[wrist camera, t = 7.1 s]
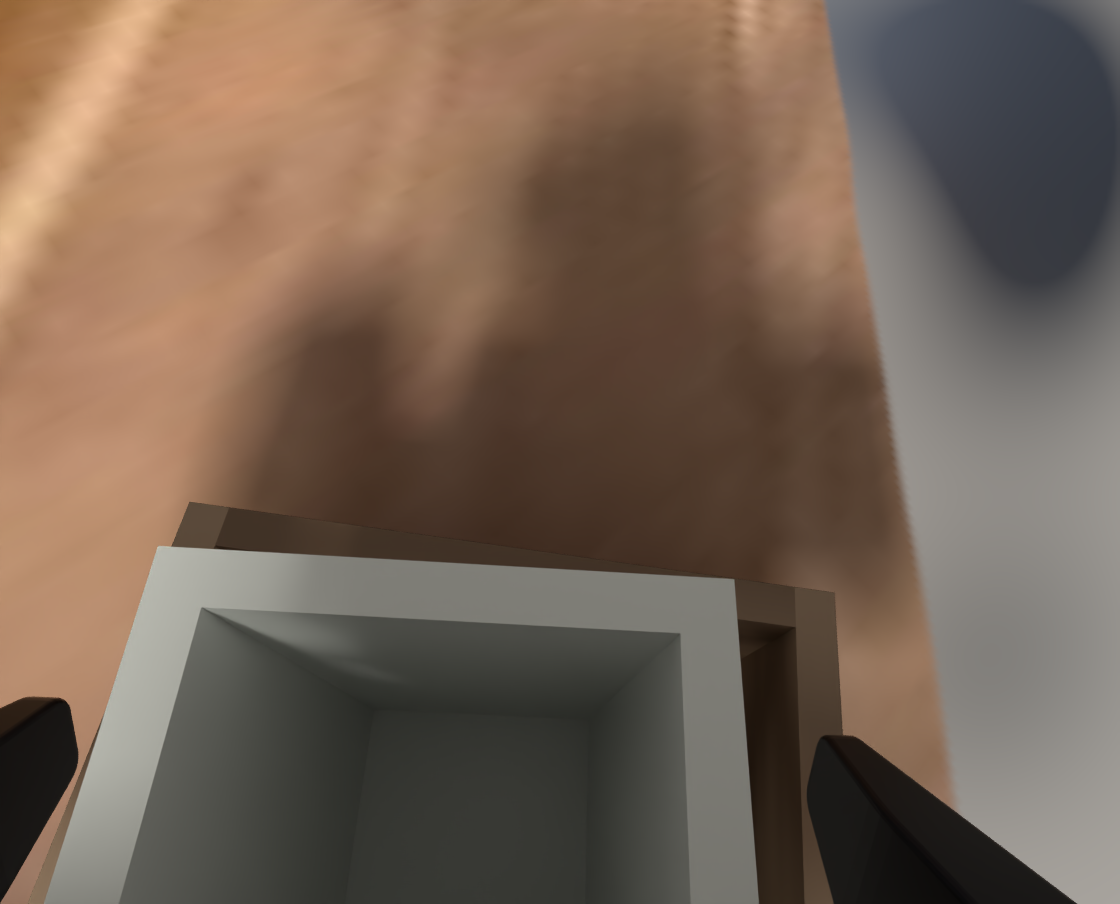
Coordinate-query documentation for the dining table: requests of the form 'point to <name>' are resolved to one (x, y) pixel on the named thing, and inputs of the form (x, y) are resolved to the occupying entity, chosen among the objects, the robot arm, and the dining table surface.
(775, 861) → the crate
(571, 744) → the box
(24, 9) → the dining table surface
